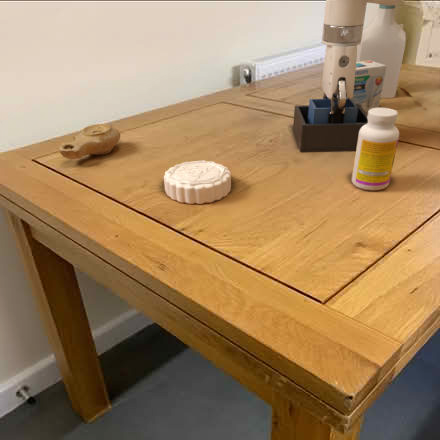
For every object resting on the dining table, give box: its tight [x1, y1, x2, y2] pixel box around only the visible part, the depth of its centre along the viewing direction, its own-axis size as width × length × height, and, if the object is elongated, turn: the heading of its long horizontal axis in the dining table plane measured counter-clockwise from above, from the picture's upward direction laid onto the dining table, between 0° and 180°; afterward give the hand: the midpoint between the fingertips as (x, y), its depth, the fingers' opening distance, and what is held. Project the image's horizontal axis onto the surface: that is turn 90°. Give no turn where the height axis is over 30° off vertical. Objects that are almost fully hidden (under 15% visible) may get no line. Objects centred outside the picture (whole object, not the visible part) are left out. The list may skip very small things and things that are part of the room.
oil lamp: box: [58, 123, 121, 160], centre depth 98 cm, size 11×14×5 cm
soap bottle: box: [356, 4, 407, 99], centre depth 121 cm, size 11×8×27 cm
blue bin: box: [307, 98, 358, 124], centre depth 100 cm, size 9×7×6 cm
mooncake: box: [163, 159, 232, 205], centre depth 84 cm, size 12×12×4 cm
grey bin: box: [292, 104, 368, 153], centre depth 101 cm, size 15×14×6 cm
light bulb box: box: [337, 60, 386, 114], centre depth 116 cm, size 11×7×11 cm, turn 114°
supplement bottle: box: [351, 107, 400, 191], centre depth 81 cm, size 7×7×13 cm
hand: (330, 126), depth 101 cm, fingers closed on blue bin, 7 cm apart
